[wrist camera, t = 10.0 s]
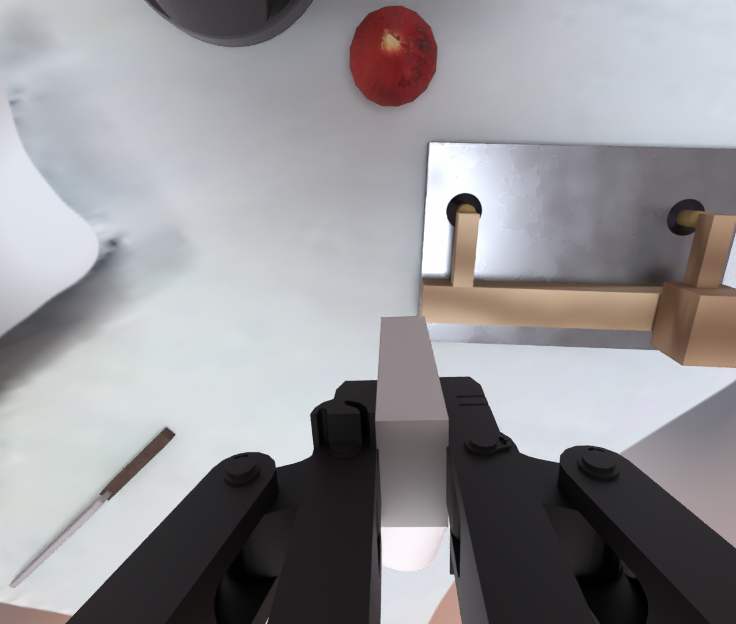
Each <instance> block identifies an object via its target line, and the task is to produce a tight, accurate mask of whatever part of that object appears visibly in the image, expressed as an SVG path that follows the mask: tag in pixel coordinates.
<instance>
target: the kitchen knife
mask: <svg viewBox="0 0 736 624" xmlns="http://www.w3.org/2000/svg"><path fill="white" fill-rule="evenodd" d="M174 436H175V434H174V433H173V432H172V431H170V430H169V429H168V428H167V427H166V428H165V429H164V430H163V431H162V432H161V433H160V434H159V435H158V436H157V437H156V438H155V439H154V440H153V441H152V442H151V443H150V444H149V445H148V446H147V447H146V448H145V449H144V450H143V451H142V452H141V453H140V454H139V455H138V456H137V457H136V458H135V459H134V460H133V461H132V462H131V463H130V464H129V465H128V466H127V467H126V468H125V469H124V470H123V471H122V472H120V473H119V474H118V475H117V476H116V477H115V478H114V479H113V480H112V481H111V482H110V483H109V484H108V485H107V486H106V487H105V489H104V490H103V491H102V492H101V493H100V495H101V496H100V497H99V498H98V499H97V500H96V501H95V502H94V503H93V504H92V505H91V506H90V507H89V508H88V509H86V510H85V511H84V512H83V513H82V514H81V515H80V516H79V517H78V518H77V519H76V520H75V521H74V522H73V523H72V524H71V525H70V526H69V527H68V528H67V529H66V530H65V531H64V532H63V533H62V534H61V535H60V536H59V537H58V538H57V539H56V540H55V541H54V542H53V543H52V544H51V545H50V546H49V547H48V548H47V549H46V550H45V551H44V552H43V553H42V554H41V555H40V556H39V557H38V558H37V559H35V560H34V561H33V562H32V563H31V564H30V565H29V566H28V567H27V568H26V569H25V570H24V571H23V572H22V573H21V574H20V575H19V576H18V577H17V578H16V579H15V580H14V581H13V582H12V583H11V584H10V585H9V586H10V587H12V588H15V587H16V586H18V585H19V584H20V583H21V582H22V581H23V580H25V579H26V578H27V577H28V576H29V575H30V574H31V573H32V572H33V571H34V570H35V569H36V568H37V567H38V566H39V565H40V564H41V563H43V562H44V561H45V560H46V559H47V558H48V557H49V556H50V555H51V554H52V553H53V552H54V551H55V550H56V549H57V548H58V547H59V546H60V545H62V544H63V543H64V542H65V541H66V540H67V539H68V538H69V537H70V536H71V535H72V534H73V533H74V532H75V531H76V530H77V529H78V528H79V527H80V526H82V525H83V524H84V523H85V522H86V521H87V520H88V519H89V518H90V517H91V516H92V515H93V514H94V513H95V512H96V511H97V510H98V509H99V508H100V507H101V506H102V504H103V503H104V502H105V501H106V500H108V501H109V500H110V499H111V498H112V497H113V496H114V495H115V494H116V493H117V492H118V491H119V490H120V489H121V488H122V487H123V486H124V485H125V484H126V483H127V482H128V481H129V480H130V479H131V478H132V477H134V476H135V475H136V474H137V473H138V472H139V471H140V470H141V469H142V468H143V467H144V466H145V465H146V464H147V463H148V462H149V461H150V460H151V459H152V458H153V457H154V456H155V455H156V454H157V453H158V452H159V451H160V450H162V449H163V448H164V447H165V446H166V445H167V444H168V443H169V442H170V440H171V439H172V438H173V437H174Z"/></svg>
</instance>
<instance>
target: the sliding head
mask: <svg viewBox="0 0 736 624" xmlns="http://www.w3.org/2000/svg"><path fill="white" fill-rule="evenodd" d="M676 221H677V223H678V224H679V225H681V226H687V227H693V228H696V230H695V234H694V238H693V242H692V246H691V250H690V254H689V259H688V263H687V267H686V271H685V275H684V279H683V282H664V284H663V289H662V293H661V297H660V302H659V306H658V311H657V315H656V319H655V324H654V328H653V332H652V337H651V341H650V345H651V346H653V347H654V348H656V349H658V350H659V351H661V352H662V353H664V354H665V355H667V356H668V357H670V358H672V359H673V360H675V361H676V362H678V363H679V364H681V365H682V366H705V367H729V368H736V289H735V288H732V287H729V286H726V285H723V284H720V279H721V276H722V272H723V268H724V264H725V261H726V257H727V253H728V249H729V246H730V242H731V238H732V234H733V231H734V227H735V223H736V216H734V215H725V214H715V213H712V212H703V211H694V210H682V211H681V212H679V213H678V215H677V217H676Z"/></svg>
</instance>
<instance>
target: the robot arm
mask: <svg viewBox="0 0 736 624" xmlns="http://www.w3.org/2000/svg"><path fill="white" fill-rule="evenodd" d="M145 1H146V2H147V3H148V4H149V6H150V7H152V8H153V9H154V10H155V11H156V12H157V13H158V14H160V15H161V16H162V17H163V18H165V19H166V20H167V21H169V22H170V23H172V24H173V25H174V26H176V27H177V28H179V29H180V30H182V31H183V32H185V33H187V34H188V35H190V36H192V37H194V38H196V39H199V40H201V41H204V42H207V43H210V44H215V45H220V46H229V47H240V46H248V45H253V44H257V43H260V42H263V41H266V40H268V39H271V38H273V37H275V36H276V35H278V34H280V33H281V32H283V31H284V30H286V29H287V28H288V27H290V26H291V25H292V24H293V23H294V22H295V21H296V20H297V19H298V18H299V17H300V16H301V15H302V14H303V13H304V12H305V10H306V9H307V8H308V6H309V5H310V4H311V2H312V0H145ZM310 417H311V426H312V436H313V445H314V450H313V454H312V456H311V457H309V458H307V459H305V460H303V461H300V462H297V463H294V464H290V465H286V466H281V467H277V468H276V466H275V461H274V460H273V459H272V458H271V457H270V456H269V455H266V454H263V453H260V452H246V453H240V454H237V455H233V456H231V457H229V458H227V459H225V460H223V461H221V462H220V463H219V464H218V465H216V466H215V467H214V468H213V469H212V470H211V471H210V472H209V473H208V474H207V475H206V476H205V477H204V478H203V479H202V480H201V481H200V482H199V483H198V484H197V486H196V487H195V488H194V489H193V490H192V491H191V492H190V493H189V494H188V495H187V496H186V497H185V498H184V499H183V500H182V501H181V502H180V503H179V505H178V506H177V507H176V508H175V509H174V510H173V511H172V512H171V513H170V514H169V515H168V516H167V517H166V518H165V519H164V520H163V521H162V522H161V523H160V525H159V526H158V527H157V528H156V529H155V530H154V531H153V532H152V533H151V534H150V535H149V536H148V537H147V538H146V539H145V540H144V541H143V542H142V544H141V545H140V546H139V547H138V548H137V549H136V550H135V551H134V552H133V553H132V554H131V555H130V556H129V557H128V558H127V559H126V560H125V561H124V563H123V564H122V565H121V566H120V567H119V568H118V569H117V570H116V571H115V572H114V573H113V574H112V575H111V576H110V577H109V578H108V579H107V580H106V581H105V583H104V584H103V585H102V586H101V587H100V588H99V589H98V590H97V591H96V592H95V593H94V594H93V595H92V596H91V597H90V598H89V599H88V600H87V602H86V603H85V604H84V605H83V606H82V607H81V608H80V609H79V610H78V611H77V612H76V613H75V614H74V615H73V616H72V617H71V618H70V619H69V621H68V622H67V623H66V624H265V623H266V621H267V619H268V617H269V619H268V622H267V624H380V618H381V565H382V540H381V527H448V516H449V522H450V574H454V575H455V582H456V588H457V594H458V601H459V607H460V614H461V620H462V624H736V548H734V547H733V546H732V545H731V544H730V543H728V542H727V541H726V540H725V539H723V538H722V537H721V536H720V535H719V534H718V533H716V532H715V531H714V530H713V529H711V528H710V527H709V526H708V525H707V524H705V523H704V522H703V521H702V520H700V519H699V518H698V517H697V516H696V515H694V514H693V513H692V512H691V511H690V510H688V509H687V508H686V507H685V506H683V505H682V504H681V503H680V502H679V501H677V500H676V499H675V498H674V497H673V496H671V495H670V494H669V493H668V492H666V491H665V490H664V489H663V488H662V487H660V486H659V485H658V484H657V483H655V482H654V481H653V480H652V479H651V478H649V477H648V476H647V475H646V474H645V473H643V472H642V471H641V470H640V469H639V468H637V467H636V466H635V465H634V464H632V463H631V462H630V461H629V460H627V459H625V458H624V457H622V456H621V455H619V454H618V453H615V452H613V451H610V450H607V449H605V448H601V447H597V446H596V447H595V446H589V445H587V446H574V447H571V448H568V449H566V450H565V451H564V452H563V453H562V454H561V455H560V463H557V462H551V461H546V460H541V459H537V458H533V457H529V456H526V455H524V454H522V453H519V451H518V448H517V446H516V445H515V443H514V442H513V441H512V439H511V438H509V437H508V436H506V435H505V434H503V433H501V432H500V431H499V428H498V426H497V423H496V421H495V419H494V416H493V414H492V411H491V409H490V406H488V402H487V399H486V397H485V394H484V392H483V390H482V387H481V385H480V384H479V383H477V382H476V381H475V380H473V379H472V378H471V377H439V376H438V371H437V367H436V363H435V358H434V354H433V350H432V346H431V341H430V337H429V333H428V328H427V324H426V320H425V316H410V317H381V331H380V347H379V364H378V380H364V381H345V382H344V383H343V384H342V385H341V386H340V387H339V388H337V389H336V392H335V396H334V399H332V400H329V401H326V402H323V403H321V404H320V405H318V406H317V407H315V408H314V410H313V411H312V413H311V414H310Z"/></svg>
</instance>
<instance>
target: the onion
mask: <svg viewBox="0 0 736 624" xmlns="http://www.w3.org/2000/svg"><path fill="white" fill-rule="evenodd" d="M436 60H437V45H436V42H435V39H434V36H433V33H432V30H431V28H430V26H429V25H428V24H427V23H426V22H425V21H424V20H423V19H422V18H421V17H420V16H419V15H418V14H417V13H416V12H414V11H412V10H410V9H407V8H405V7H403V6H389V7H384V8H381V9H379V10H377V11H374V12H372V13H369V14H368V15H367V16H366V17H365V19H364V20H363V21H362V22H361V23H360V25H359V26H358V27H357V29H356V32H355V35H354V38H353V40H352V43H351V46H350V69H351V72H352V75H353V78H354V81H355V84H356V86H357V87H358V88H359V89H360V91H361V92H362V93H363V94H364V96H365V97H366V98H367V99H368V100H371V101H373V102H375V103H377V104H379V105H381V106H400V105H403V104H406V103H409V102H412V101H414V100H415V99H416V98H417V97H418V96H419V95H420V94H422V93H423V92H424V91H425V90H426V89H427V87H428V85H429V83H430V81H431V79H432V77H433V75H434V73H435V72H436Z"/></svg>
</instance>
